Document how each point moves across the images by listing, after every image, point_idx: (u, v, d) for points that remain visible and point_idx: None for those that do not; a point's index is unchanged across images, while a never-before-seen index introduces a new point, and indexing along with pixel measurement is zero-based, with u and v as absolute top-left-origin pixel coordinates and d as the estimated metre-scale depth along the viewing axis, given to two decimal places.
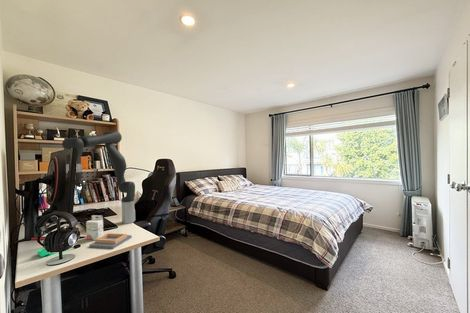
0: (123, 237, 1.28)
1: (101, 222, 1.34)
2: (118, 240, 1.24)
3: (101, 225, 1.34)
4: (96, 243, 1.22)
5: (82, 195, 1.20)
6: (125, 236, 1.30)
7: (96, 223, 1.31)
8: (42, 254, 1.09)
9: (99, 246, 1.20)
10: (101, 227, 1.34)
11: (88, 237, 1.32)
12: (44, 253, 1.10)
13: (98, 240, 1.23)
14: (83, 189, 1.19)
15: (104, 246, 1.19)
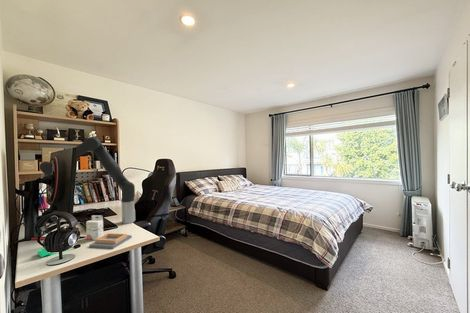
0: (123, 237, 1.28)
1: (101, 222, 1.34)
2: (118, 240, 1.24)
3: (101, 225, 1.34)
4: (96, 243, 1.22)
5: None
6: (125, 236, 1.30)
7: (96, 223, 1.31)
8: (42, 254, 1.09)
9: (99, 246, 1.20)
10: (101, 227, 1.34)
11: (88, 237, 1.32)
12: (44, 253, 1.10)
13: (98, 240, 1.23)
14: None
15: (104, 246, 1.19)
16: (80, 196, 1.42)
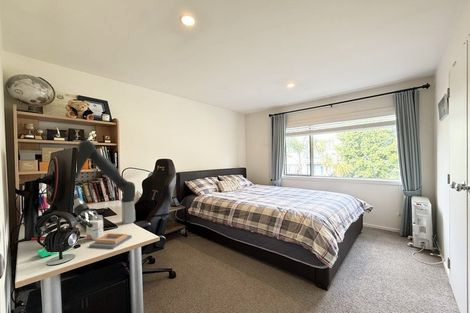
0: (123, 237, 1.28)
1: (101, 222, 1.34)
2: (118, 240, 1.24)
3: (101, 225, 1.34)
4: (96, 243, 1.22)
5: (88, 225, 1.30)
6: (125, 236, 1.30)
7: (96, 223, 1.31)
8: (43, 254, 1.09)
9: (99, 246, 1.20)
10: (101, 227, 1.34)
11: (88, 237, 1.32)
12: (45, 253, 1.09)
13: (98, 240, 1.23)
14: (81, 222, 1.29)
15: (104, 246, 1.19)
16: None
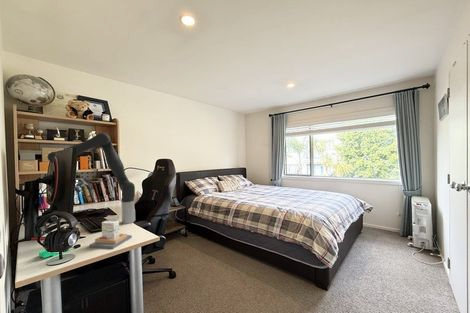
0: (123, 237, 1.28)
1: (117, 223, 1.27)
2: (118, 240, 1.24)
3: (117, 226, 1.27)
4: (96, 243, 1.22)
5: (76, 190, 1.35)
6: (125, 236, 1.30)
7: (112, 224, 1.24)
8: (45, 255, 1.08)
9: (99, 246, 1.20)
10: (117, 228, 1.27)
11: (104, 238, 1.25)
12: (47, 254, 1.08)
13: (98, 240, 1.23)
14: None
15: (104, 246, 1.19)
16: (87, 186, 1.44)
